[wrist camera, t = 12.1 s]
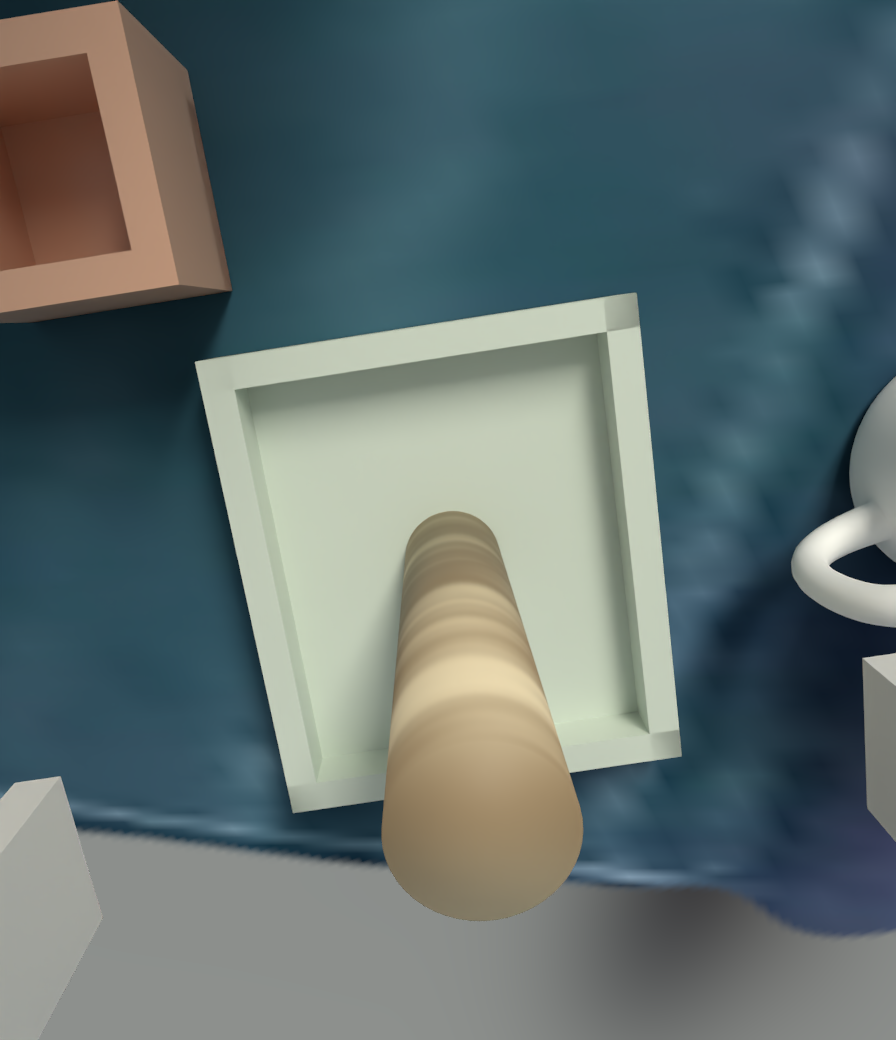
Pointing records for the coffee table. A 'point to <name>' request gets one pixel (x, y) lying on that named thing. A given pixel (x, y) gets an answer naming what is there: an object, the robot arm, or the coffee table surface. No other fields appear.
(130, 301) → the holder
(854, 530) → the cup
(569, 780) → the pin
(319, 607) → the tray
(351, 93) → the coffee table surface
